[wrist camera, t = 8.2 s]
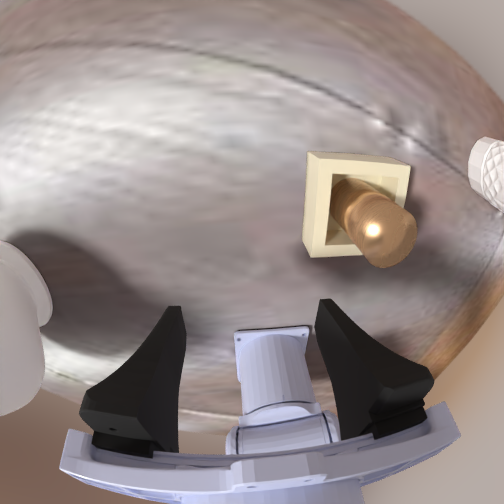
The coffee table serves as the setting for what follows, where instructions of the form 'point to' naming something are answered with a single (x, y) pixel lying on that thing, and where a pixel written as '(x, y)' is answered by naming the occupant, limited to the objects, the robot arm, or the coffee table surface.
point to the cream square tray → (319, 190)
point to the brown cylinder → (373, 222)
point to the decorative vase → (21, 328)
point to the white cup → (488, 170)
